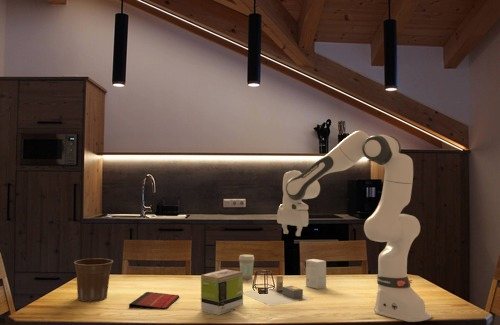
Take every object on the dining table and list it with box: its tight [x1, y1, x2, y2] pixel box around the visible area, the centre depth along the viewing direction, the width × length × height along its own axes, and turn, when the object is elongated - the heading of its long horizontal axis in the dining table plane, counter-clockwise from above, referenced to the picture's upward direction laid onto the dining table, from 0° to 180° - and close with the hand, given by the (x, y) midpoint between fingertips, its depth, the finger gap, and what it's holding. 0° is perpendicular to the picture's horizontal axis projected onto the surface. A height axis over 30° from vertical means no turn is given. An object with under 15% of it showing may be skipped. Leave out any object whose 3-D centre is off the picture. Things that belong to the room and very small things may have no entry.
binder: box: [128, 291, 180, 310], centre depth 196 cm, size 16×2×21 cm
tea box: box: [200, 268, 244, 316], centre depth 186 cm, size 15×10×15 cm, turn 141°
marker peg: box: [275, 274, 284, 292], centre depth 211 cm, size 3×3×7 cm
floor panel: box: [243, 286, 313, 307], centre depth 203 cm, size 26×22×2 cm
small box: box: [305, 258, 327, 290], centre depth 227 cm, size 8×6×13 cm
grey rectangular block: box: [283, 285, 304, 299], centre depth 202 cm, size 8×5×4 cm, turn 32°
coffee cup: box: [238, 253, 255, 280], centre depth 246 cm, size 8×8×12 cm
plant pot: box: [73, 258, 114, 302], centre depth 201 cm, size 16×16×16 cm
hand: (291, 234), depth 215 cm, fingers open, 8 cm apart
